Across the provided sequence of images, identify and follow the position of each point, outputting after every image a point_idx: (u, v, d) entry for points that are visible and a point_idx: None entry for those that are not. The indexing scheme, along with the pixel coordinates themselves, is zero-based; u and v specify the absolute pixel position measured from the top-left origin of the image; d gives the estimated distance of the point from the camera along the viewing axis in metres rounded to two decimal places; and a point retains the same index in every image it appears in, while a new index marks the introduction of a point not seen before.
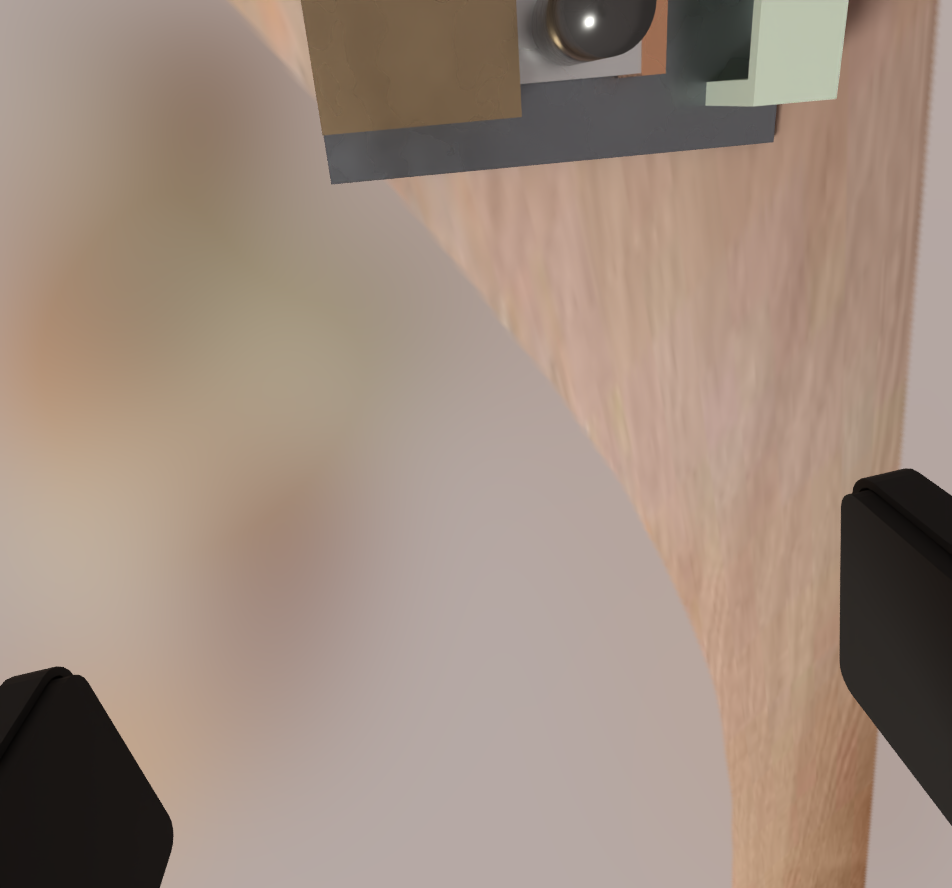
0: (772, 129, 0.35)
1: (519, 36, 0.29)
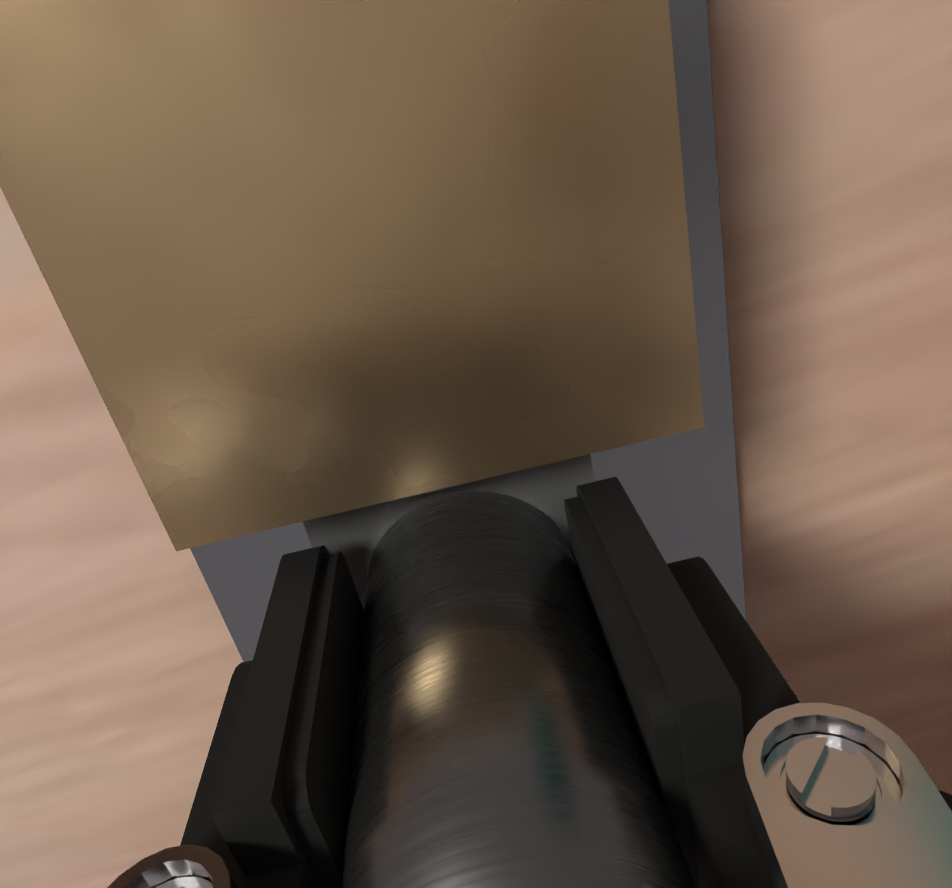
0: None
1: None
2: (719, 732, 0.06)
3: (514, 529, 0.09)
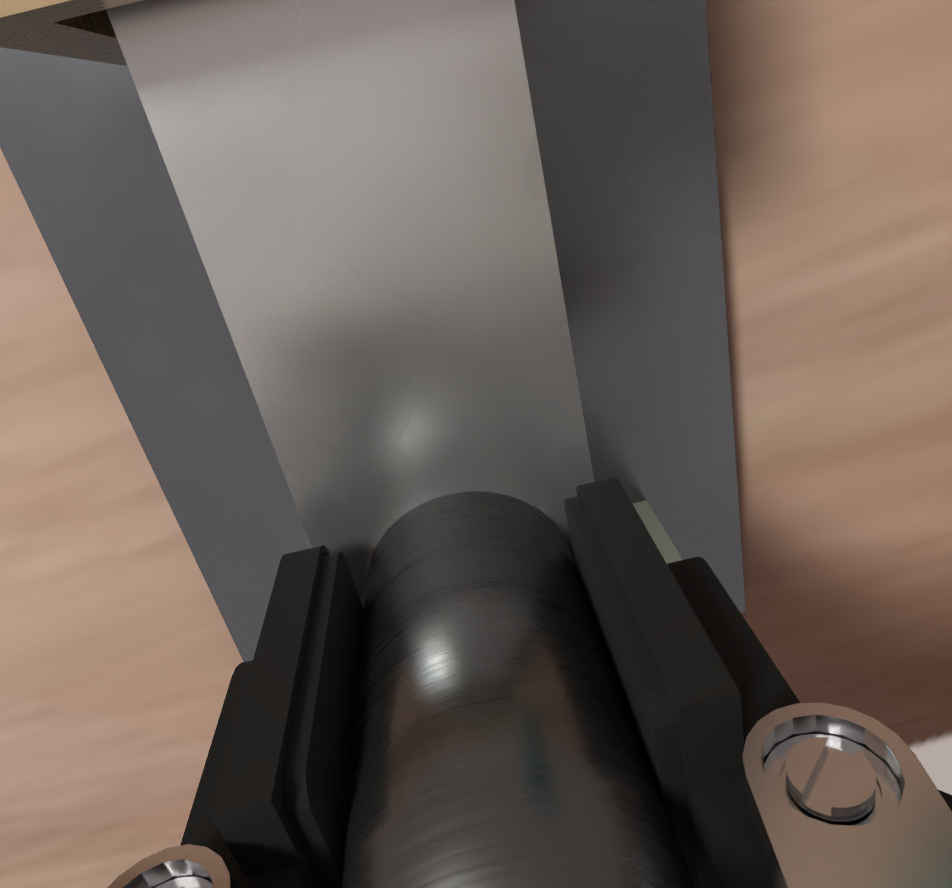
0: None
1: (418, 468, 0.10)
2: (719, 732, 0.06)
3: (514, 529, 0.09)
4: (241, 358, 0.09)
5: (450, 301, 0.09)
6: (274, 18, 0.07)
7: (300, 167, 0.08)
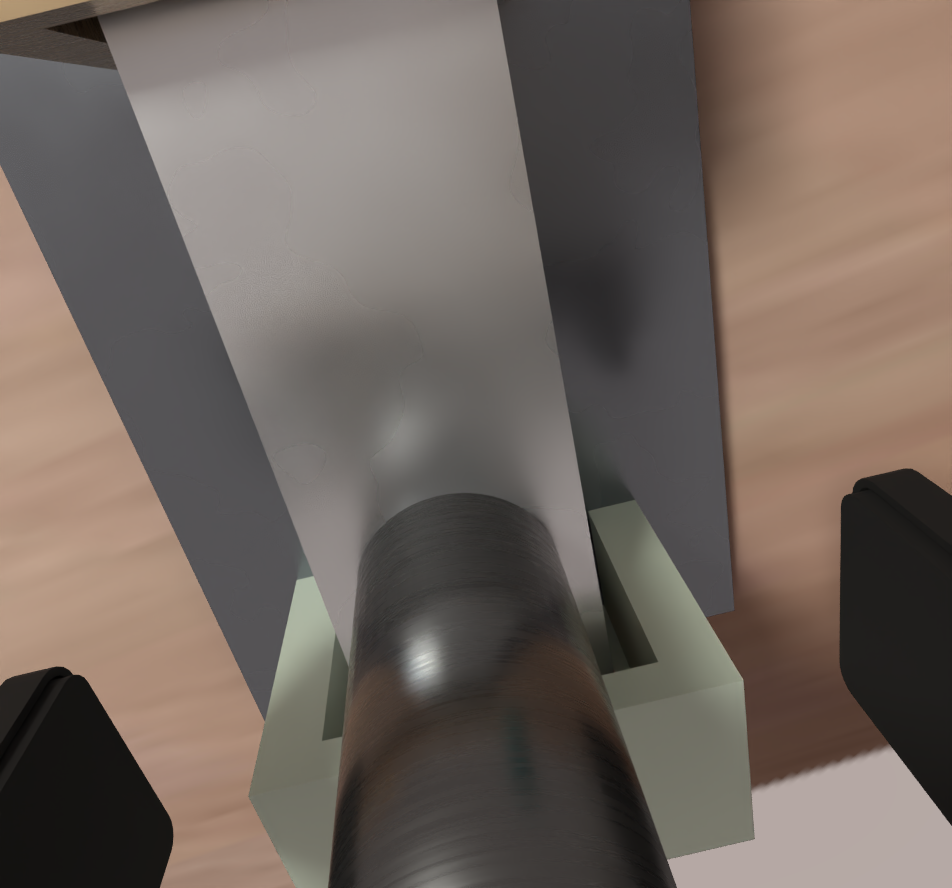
0: None
1: (407, 470, 0.10)
2: None
3: (501, 530, 0.09)
4: (232, 362, 0.09)
5: (438, 307, 0.09)
6: (264, 30, 0.07)
7: (290, 174, 0.08)
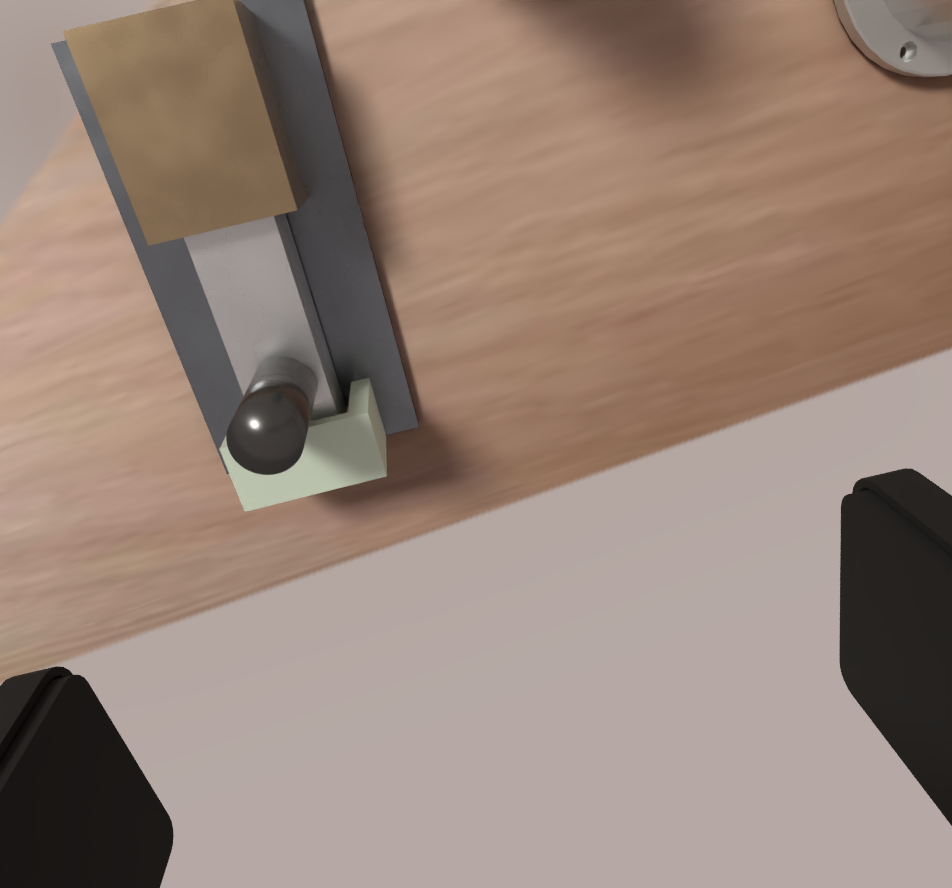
0: None
1: (265, 349, 0.34)
2: None
3: (289, 363, 0.33)
4: (214, 317, 0.33)
5: (270, 301, 0.33)
6: (221, 236, 0.31)
7: (229, 268, 0.32)
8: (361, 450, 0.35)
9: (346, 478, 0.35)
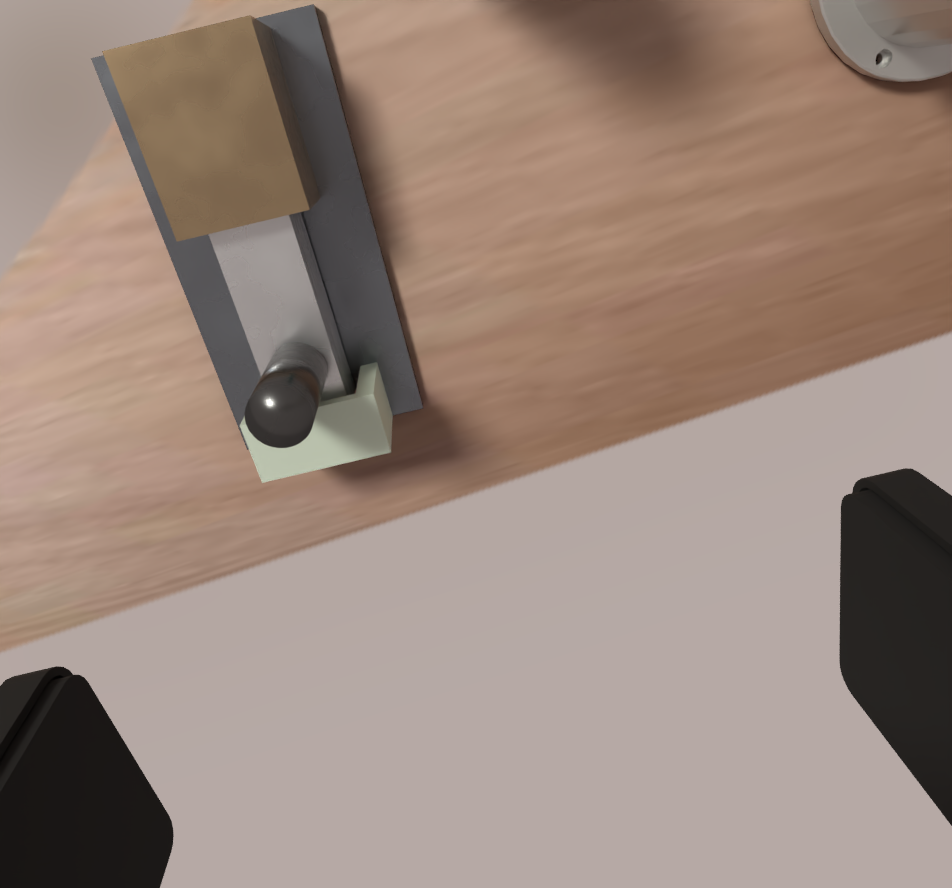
0: None
1: (281, 335, 0.37)
2: None
3: (302, 348, 0.36)
4: (235, 305, 0.36)
5: (285, 292, 0.36)
6: (242, 232, 0.35)
7: (248, 261, 0.35)
8: (367, 428, 0.38)
9: (354, 454, 0.39)
